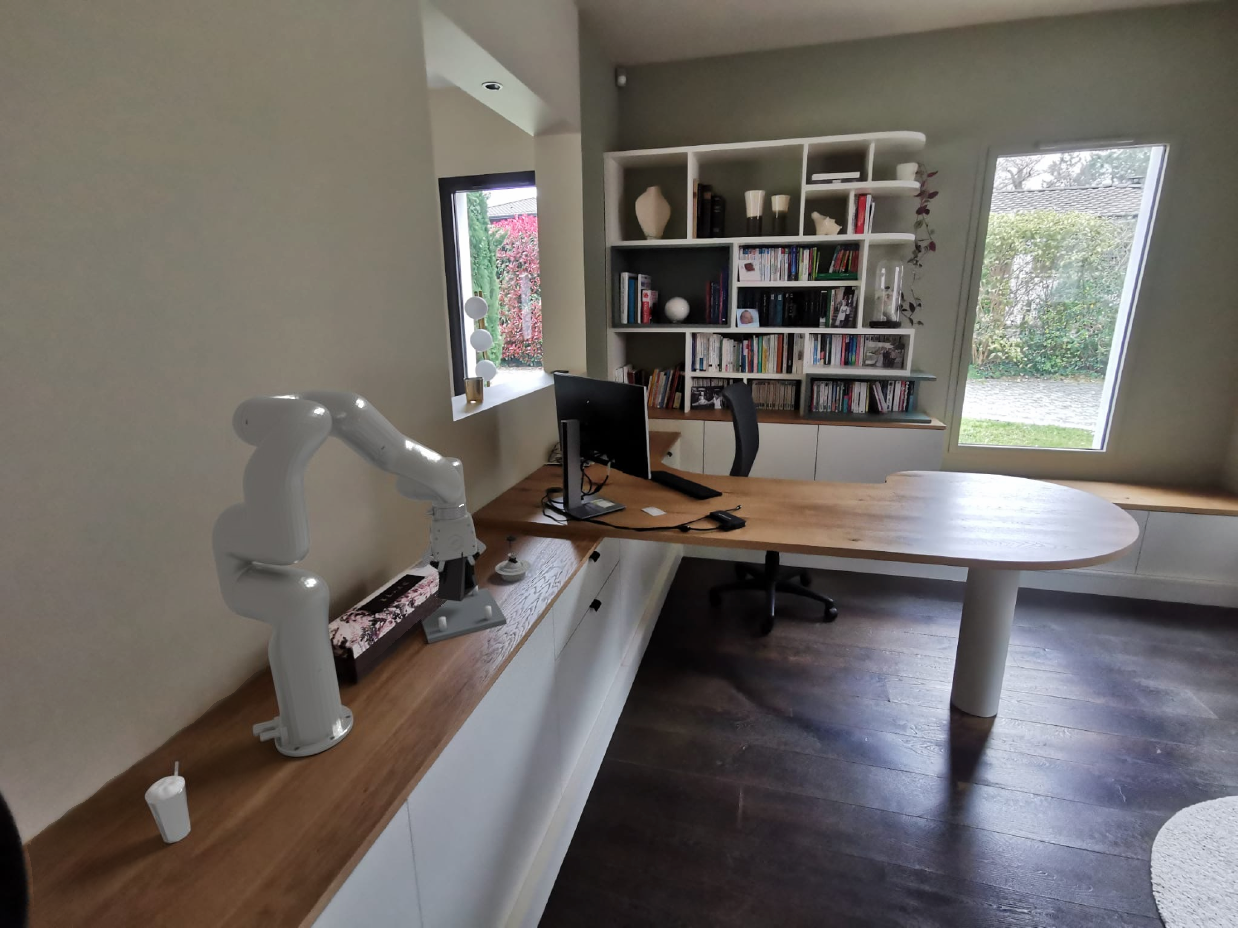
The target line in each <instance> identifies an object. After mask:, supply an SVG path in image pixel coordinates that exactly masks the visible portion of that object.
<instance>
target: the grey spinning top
mask: <svg viewBox="0 0 1238 928" xmlns="http://www.w3.org/2000/svg"><path fill="white" fill-rule="evenodd" d="M516 540H517V537H516V536H514V535H512V534H510V535H509V536H507V537H506V541H507V542H509V544H508V545H509V546H508V547H509V551H511V550H510V549H511V547H512V542H514V541H516ZM517 555H518V553H517V552H510V553H508V554H507V556H508V560H503V561H502V562H500V563H498V564H497V565H495V568H494V571H495V572H496V573H497V574H500V575H501V578H502V579H503V580H504V581H507V582H518V581H519V580H521V581H522V580H523V579H525V578H526V575H527V572H528V571H530V569H531V568H532V563H531V562H530V561H528V560H527V559H525V560H524V559H523V558H518V559H517V557H516V556H517Z"/></svg>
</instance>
